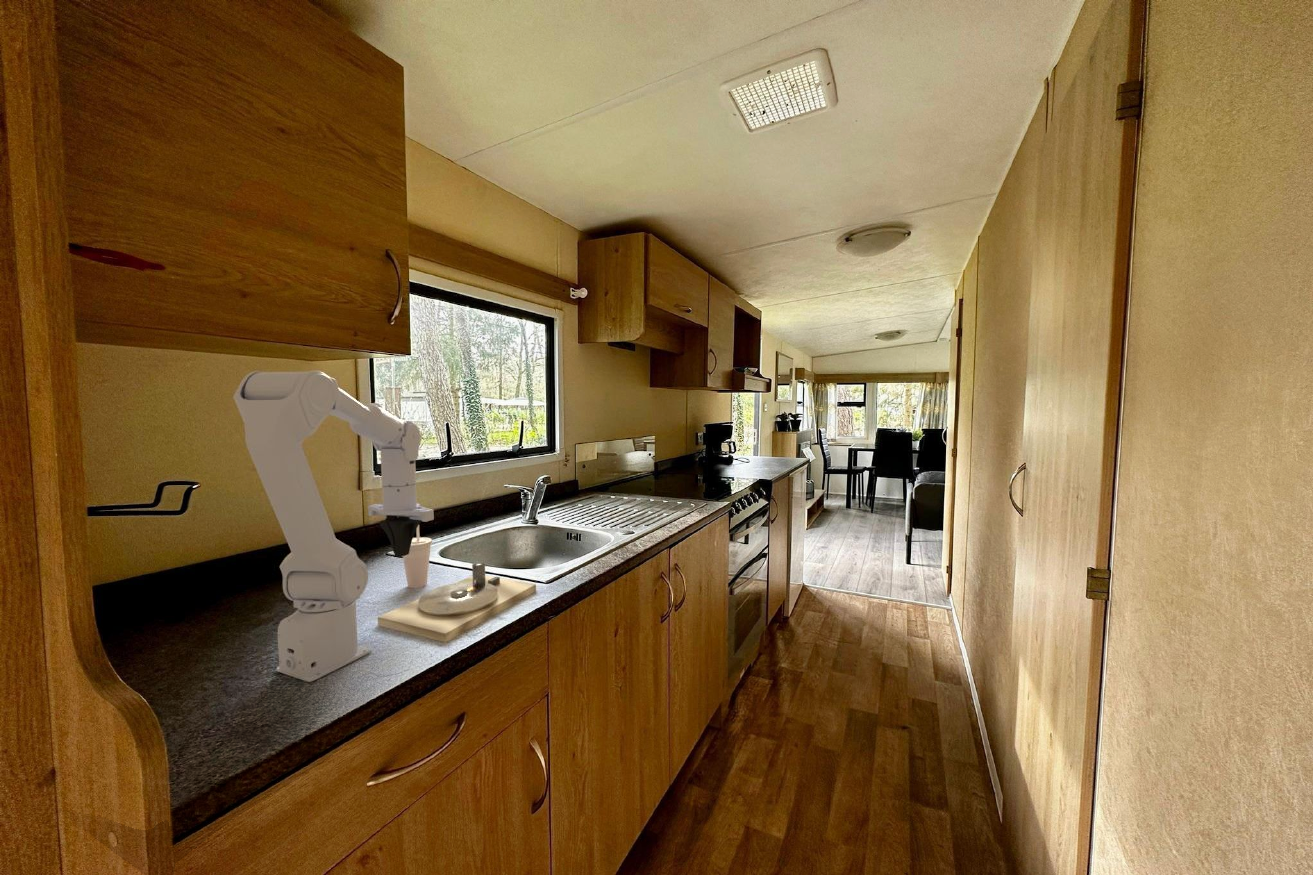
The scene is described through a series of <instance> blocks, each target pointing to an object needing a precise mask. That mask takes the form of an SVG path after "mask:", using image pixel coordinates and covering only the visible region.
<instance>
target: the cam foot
mask: <svg viewBox="0 0 1313 875" xmlns="http://www.w3.org/2000/svg"><path fill="white" fill-rule="evenodd" d="M471 569H472V570H471V571H472V572H471V573H472V576H473V582H462V583H457V582H455V583H450V584H445V585H441V586H439V587H436V588H432V589H431V590H428V591H426V592H424V593H423V594H422V595H421V596H420V597H419V598H418V599H419V609H420V611H421V612H423V613H426V614H429V615H434V616H453V615H461V614H466V613H470V612H474V611H477V610H480V609H483V608H485V607H487V606H489V605H491V604H492V603H493V602H495V601H496V599H497V597H498V590H497V588H496V587H495V586H494V585H491V584H488V583H485V576H486V563H485V562H482V561H481V562H475V563H472V568H471Z"/></svg>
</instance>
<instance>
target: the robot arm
mask: <svg viewBox="0 0 1313 875" xmlns="http://www.w3.org/2000/svg"><path fill="white" fill-rule="evenodd" d="M233 394H234V395H233V396H232V397H233V400H234V402H235V404H236V406H237V411H238V412H239V414H240V417H241V419H242V421H243V424H244V435H245V437H244V438H245V444H246V448H247V451H248V454H249V456H250V457H251V460H252V463H253V465H254V467H255V470H256V472H257V474H258V476H259V480H260V481H261V484H262V486H263V488H264V490H265V493H266V495H267V498H268V500H269V503H270V505H271V507H272V510H273V511H274V514H275V516H276V518H277V521H278V523H279V526H280V528H281V531H282V533H283V535H284V538H285V540H286V543H287V544H288V547H289V550H290V553H289V554H287V555H286V556H285V557H284V559H283V560H282V562H281V563H280V565H279V569H280V571H281V575H282V590H283V594H284V596H285V597H286V598H287V599H288V600H289V601H293V608H294V609H295V608H296V611H295V612H293V613H292V614H291V615H289V616H287V617H285V618H283V619H282V620H280V622H279V624H278V627H277V650H278V665H279V666H277V667H276V672H279V673H282V674H285V675H286V676H291V677H292V678H295V679H298V680H299V679H300V680H302V681H304V682H308V683H311V682H314V681H315V680H316V681H317V680H318V679H320V678H322V677H325V676H326V675H329V674H330V673H332V672H334V671H336V670H338V669H340V668H342V667H344V666H345V665H348V664H350V663H352V662H355V661H356V660H358V659H360V658H362V657H364V656H366V655H368V654H370V653H371V652H372V648H369V647H367V646H363V645H359V643H358V626H357V625H358V622H357V620H358V619H357V603H356V601H357V600H359V599H361V596H362V594H363V593H364V591H365V590H366V588H367V585H368V582H369V571H368V567H367V565H366V564H365V562H364V561H363V560H362V559H360V558H359V556H358V554H357V551H356V549H354V548H353V547H351V546H350V545H348V544H346V543H344V542H342V541H341V540H340V539H337V538H336V535H335V532H334V529H333V526H332V524H331V522H330V519H329V516H328V513H327V511H326V508H325V506H324V503H323V500H322V497H321V495H320V492H319V489H318V487H317V484H316V482H315V479H314V476H313V473H312V470H311V469H310V465H309V462H308V460H307V457H306V455H305V452H304V449H303V446H302V445H303V442H304V441H305V439H308V438H309V437H312V436H313V435H314V433H315V432H316V431H317V430H318V428H319V427H320V426H321V425H322V423H323V422H324V421H325V420H326V418H327V417H328V416H329V415H330V416H333V417H336V418H338V419H340V420H342V421H345V422H348V423H349V427H350V429H351V431H352V432H353V433H355V434H356V435H358V436H360V437H362V438H364V439H366V440H368V441H370V442H371V443H372V445H373V447H374V449H375V450H376V451H378V452H379V451H380V469H381V471H380V472H381V492H382V497H381V498H382V503H376V504H372V505H368V506H367V509H368V510H367V512H368V514H367V515H368V516H370V517H375V516H379V517H380V516H381V517H386V518H385V519H384V520H380V521H379V526H380V527H381V528H382V530H383V531H384V532H385V534H386V536H387V538H388V541H389V542H390V545H391V548H392V551H393V555H394V557H397V558H401V557H402V558H403V556H405V555H408V554H409V551H410V546H411V542H412V539H413V538H414V536H415V533H416V529H417V527H418V525H419V526H420V523H421V522H424V523H425V522H426V523H427V522H429V521H433V520H435V516H434V513H435V512H434V509H432V508H427V507H424V506H421V503H417V502H418V499H417V498H418V497H417V496H418V495H417V472H416V470H417V469H416V460H418V458H419V449H420V446H421V442H422V434H421V432H420V428H419V427H418V426H417V424H415V423H413V422H412V421H410V420H408V421H407V420H405V421H404V420H401V418H398V416H397V415H395V414H394V413H393V414H392V413H390V412H388V411H386V410H385V409H383V405H382V404H380V403H378V402H374V403H372V402H370V403H364V404H363V403H361V402H359V401H358V400H357V399H355V398H354V397H352V396H351V395H350V394H348V393H347V392H346V391H344V390H343V389H341V388H340V387H339V384H338V381H337V379H336V378H333V377H330V376H329V375H328V374H326V373H325V372H323V371H320V370H310V371H262V370H261V371H260V370H257V371H256V370H255V371H254V370H253V371H252V372H250V373H247V374H246V375H245V376H244V377H243V378H242V380H241V381H240V383H239V385H238V387H237V389H236V390H235V393H233Z"/></svg>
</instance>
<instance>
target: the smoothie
mask: <svg viewBox="0 0 1313 875" xmlns="http://www.w3.org/2000/svg"><path fill="white" fill-rule="evenodd" d="M415 533H416V537H413V539H412V542H411V546H410V551H409V554H408V555H405V556H402V560H403V566H404V572H405V576H406V577H405V578H406V582H407V583H406V584H407V587H408V588H410V589H417V588H422V587H424V586H427V584H428V577H429V576H428V574H429V566H430V556H431V555H430V554H431V547H432V545H433V539H432V538H431V537H425V536H424V537H423V536H422V537H421V536H420V524H419V525H418V527H417V529H416V531H415Z"/></svg>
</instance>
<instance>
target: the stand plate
mask: <svg viewBox="0 0 1313 875" xmlns="http://www.w3.org/2000/svg"><path fill="white" fill-rule="evenodd" d="M462 582H473V575H471V576H469V577H467V578H464V579H462V580H459V581H458V582H456V583H462ZM485 583H488V584H491V585H494V586H495V587H496V588H497V590H498V597H497V599H496V601H495V602H493V603H492V604H491V605H489V606H487V607H485V608H483V609H480V610H477V611H474V612H470V613H466V614H461V615H453V616H434V615H429V614H426V613H423V612H421V611H420V609H419V599H420V598H417V599H415V600H414V601H411V602H409V603H406V604H405V605H402V606H400V607H398V608H397V607H396V608H395V609H394V610H391V611H389V612H387V613H384V614H382V615H380V616H378V617H377V626H380V627H383V628H387V629H390V630H391V629H392V630H394V631H399V632H402V633H403V632H404V633H407V634H411V635H414V636H419V637H424V638H427V639H431V640H435V641H437V642H438V641H439V642H443V643H447V642H449V641H450V640H453V639H454V638H456V637H458V636H459V635H461V634H463V633H465V632H466V631H468V630H471V629H472V628H474V627H476V626H477V625H479V624H480V623H483V622H484V621H486V620H488V619H490V618H491V617H493V616H494V615H497V614H499V613H500V612H502V611H503V610H505V609H507V608H509V607H511V606H512V605H515V604H516V603H518V602H520V601H521V600H524V599H525V598H527V597H528V596H530V595H532V594H534V593H536V592H537V585H536V583H531V582H526V581H521V580H520V581H519V580H513V579H507V578H502V577H500V576H491V575H485Z"/></svg>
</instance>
